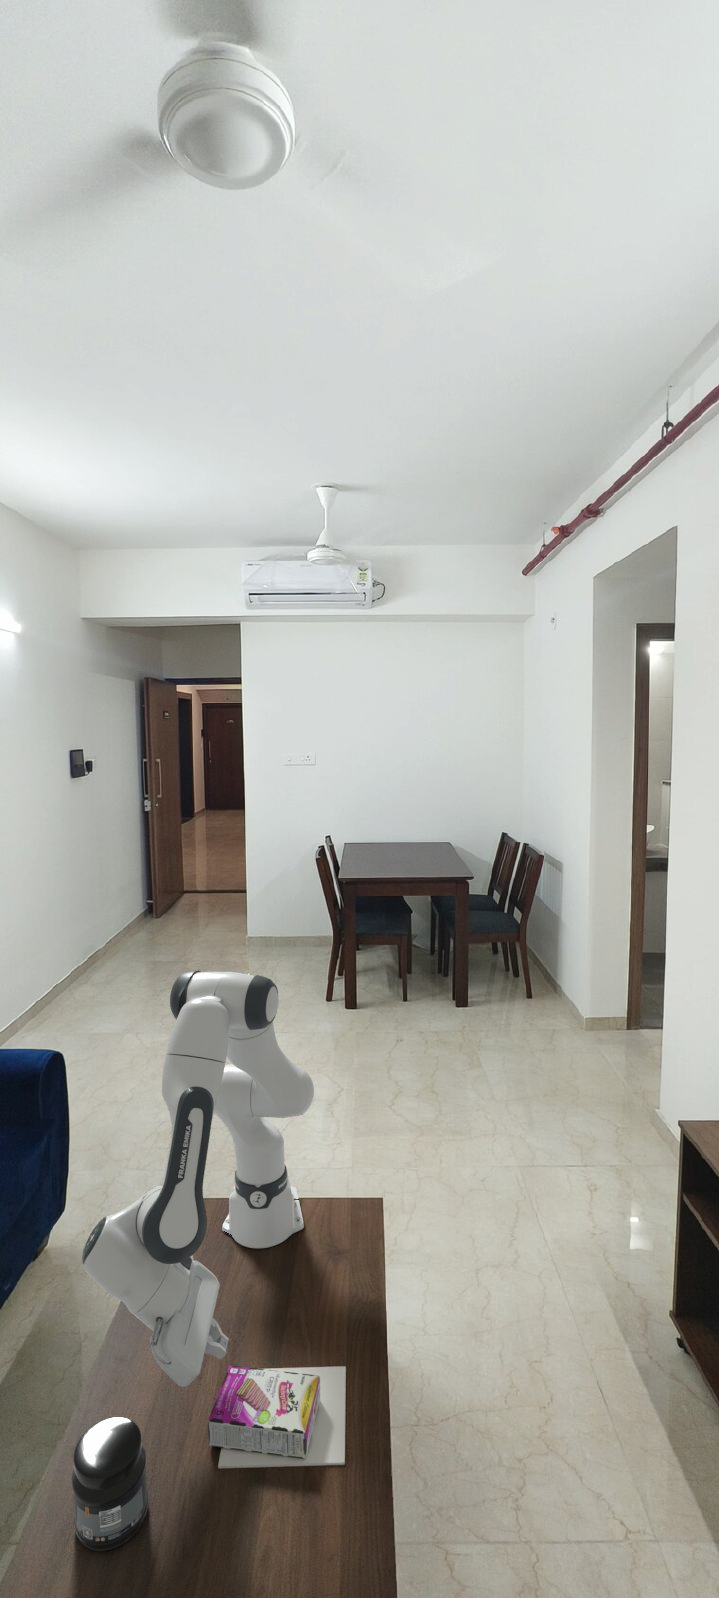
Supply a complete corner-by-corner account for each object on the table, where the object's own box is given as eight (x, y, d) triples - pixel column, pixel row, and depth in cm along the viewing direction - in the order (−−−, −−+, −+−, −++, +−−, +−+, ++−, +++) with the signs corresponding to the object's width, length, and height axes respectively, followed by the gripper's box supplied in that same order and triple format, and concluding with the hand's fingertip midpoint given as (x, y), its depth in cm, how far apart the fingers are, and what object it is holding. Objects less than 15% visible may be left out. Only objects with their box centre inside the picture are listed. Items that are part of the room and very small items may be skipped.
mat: (235, 1371, 139) (235, 1369, 139) (345, 1368, 139) (345, 1366, 139) (218, 1468, 121) (218, 1466, 121) (344, 1464, 121) (344, 1462, 121)
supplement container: (119, 1469, 122) (114, 1400, 120) (164, 1507, 116) (159, 1435, 114) (59, 1527, 113) (54, 1454, 112) (104, 1572, 107) (99, 1495, 106)
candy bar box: (228, 1362, 135) (320, 1373, 132) (229, 1388, 135) (320, 1399, 133) (206, 1420, 124) (306, 1433, 121) (207, 1448, 124) (307, 1461, 122)
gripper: (161, 1335, 117) (227, 1391, 118) (189, 1243, 138) (246, 1292, 139) (133, 1363, 118) (200, 1418, 119) (165, 1267, 138) (222, 1315, 139)
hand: (225, 1349), depth 129 cm, fingers closed
